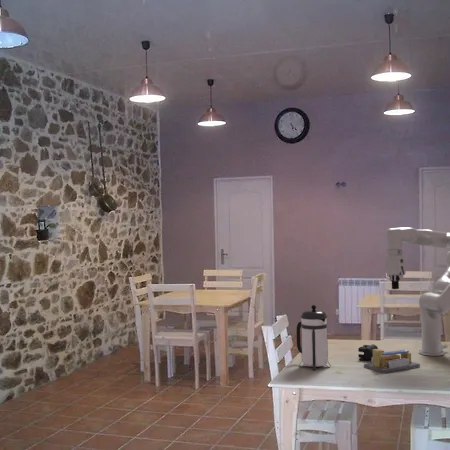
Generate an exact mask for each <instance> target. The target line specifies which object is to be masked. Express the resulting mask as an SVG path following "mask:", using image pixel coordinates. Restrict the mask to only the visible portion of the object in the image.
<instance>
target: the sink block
mask: <svg viewBox="0 0 450 450" xmlns="http://www.w3.org/2000/svg"><path fill="white" fill-rule="evenodd" d="M384 352H385V350H383V349H379V348H378V349H373V357H372V359H371V362H369V363H364V364H363V368H364V369H369V370H372V371H374V372H378V373H381V374H389V373H394V372H400V371H406V370H413V369H416V368H420V367H421V365H420V363H418V362H414V361H412V353H411V352H409V353H402V354H394V355H385V356H383V355H381V353H384Z"/></svg>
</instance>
